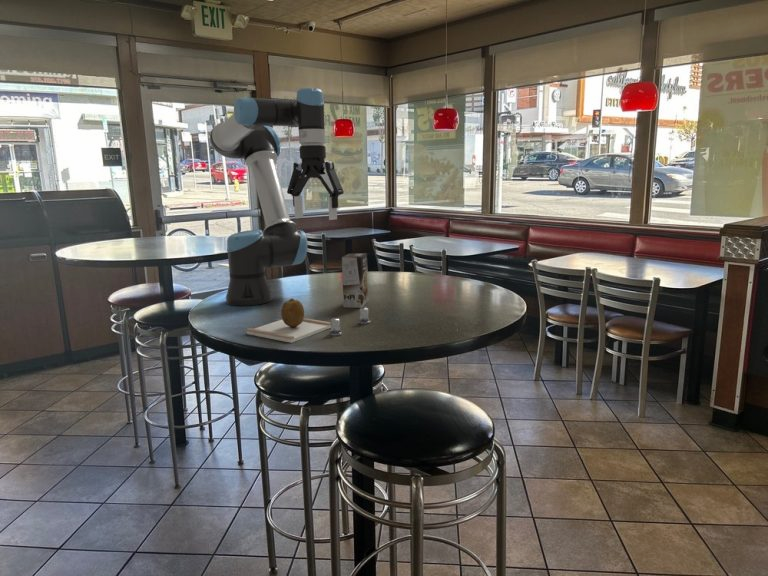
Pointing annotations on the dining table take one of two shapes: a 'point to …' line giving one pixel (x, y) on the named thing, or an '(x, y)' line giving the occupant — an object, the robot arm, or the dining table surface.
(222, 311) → the dining table surface
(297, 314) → the fruit
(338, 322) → the pins
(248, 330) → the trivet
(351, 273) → the coffee box
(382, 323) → the dining table surface
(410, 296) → the dining table surface
